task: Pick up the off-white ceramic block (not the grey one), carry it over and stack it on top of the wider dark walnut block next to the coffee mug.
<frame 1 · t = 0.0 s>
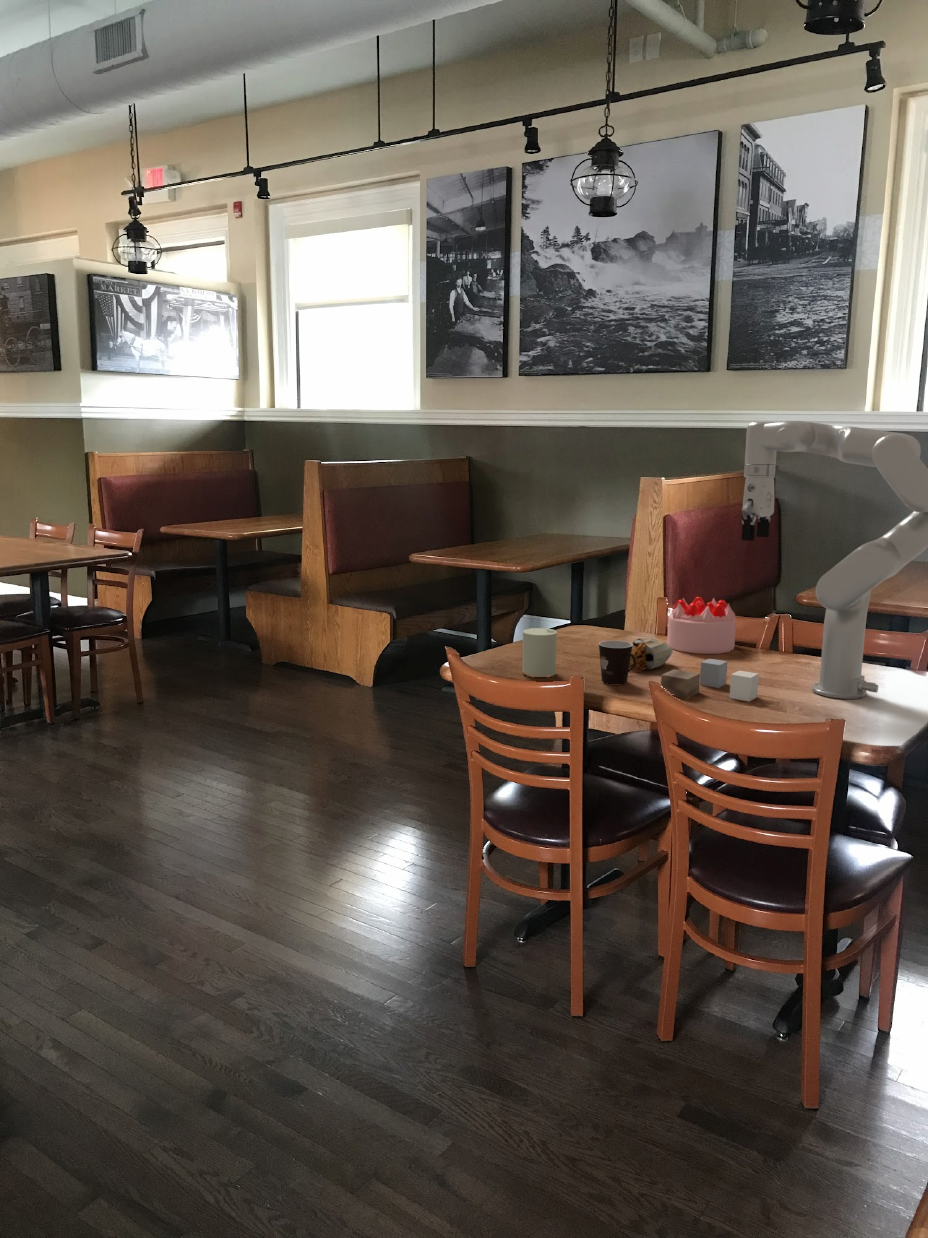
hand: (755, 538, 249), 37 cm above the table, tool pointing down, fingers open, 9 cm apart
can: (539, 674, 260), on the table
walnut block: (679, 693, 241), on the table
coffee mug: (615, 684, 250), on the table
nautilus: (639, 668, 266), on the table
ceramic block: (743, 697, 237), on the table
cake: (700, 647, 291), on the table
grey block: (713, 684, 249), on the table
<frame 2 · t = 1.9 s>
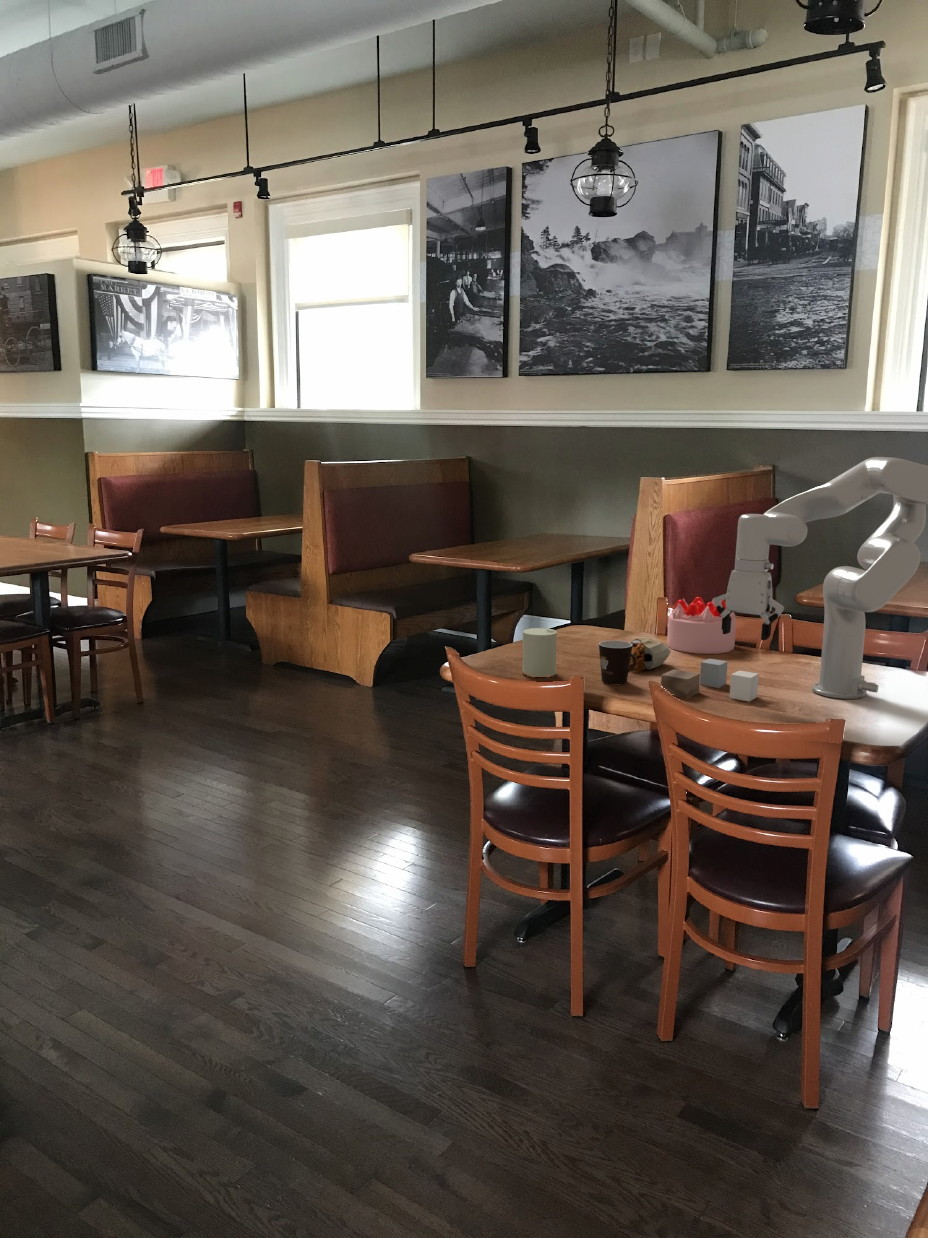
hand: (745, 636, 234), 15 cm above the table, tool pointing down, fingers open, 9 cm apart
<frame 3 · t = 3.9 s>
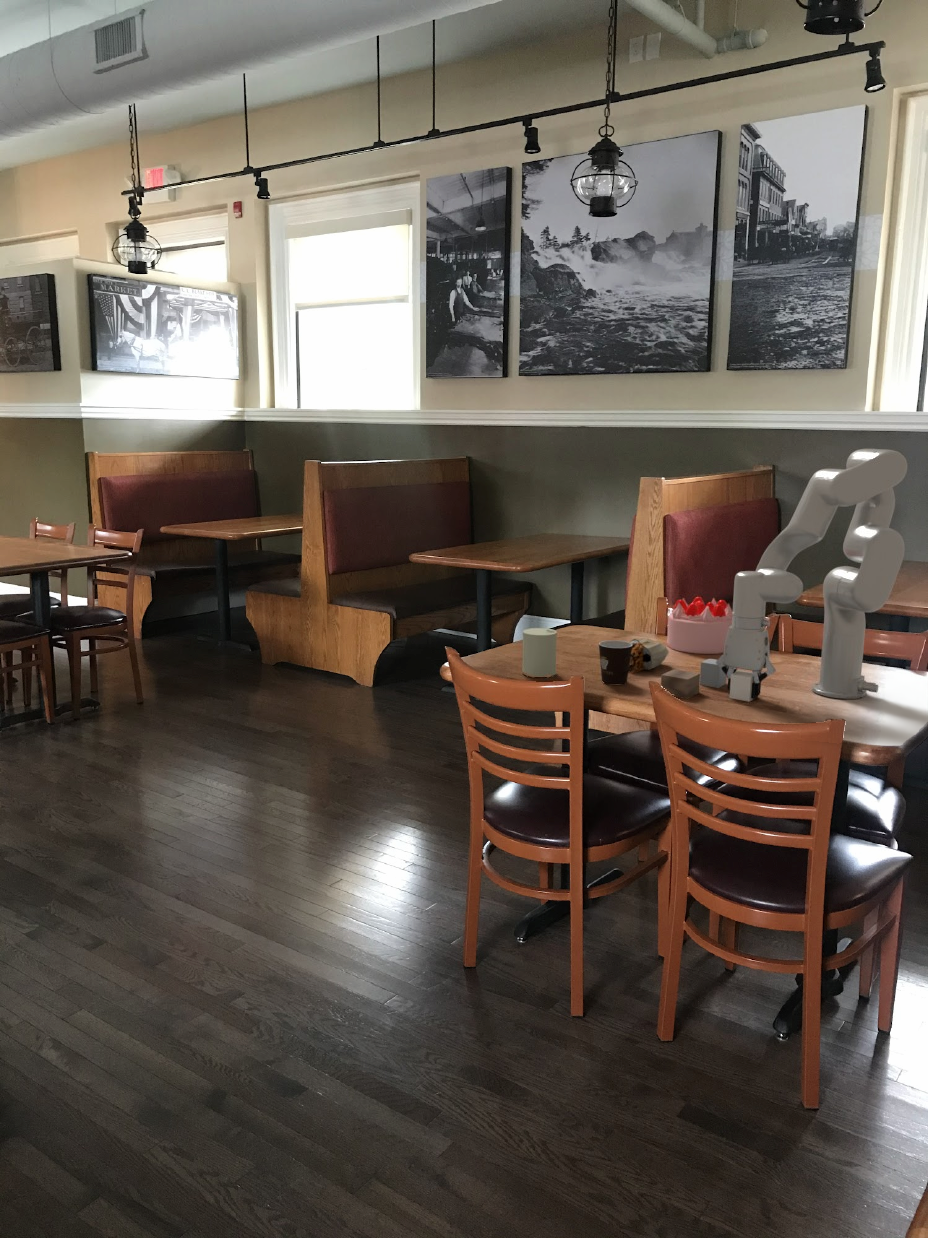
hand: (743, 694, 237), 1 cm above the table, tool pointing down, fingers closed on ceramic block, 5 cm apart
ceramic block: (743, 697, 237), on the table, touching gripper
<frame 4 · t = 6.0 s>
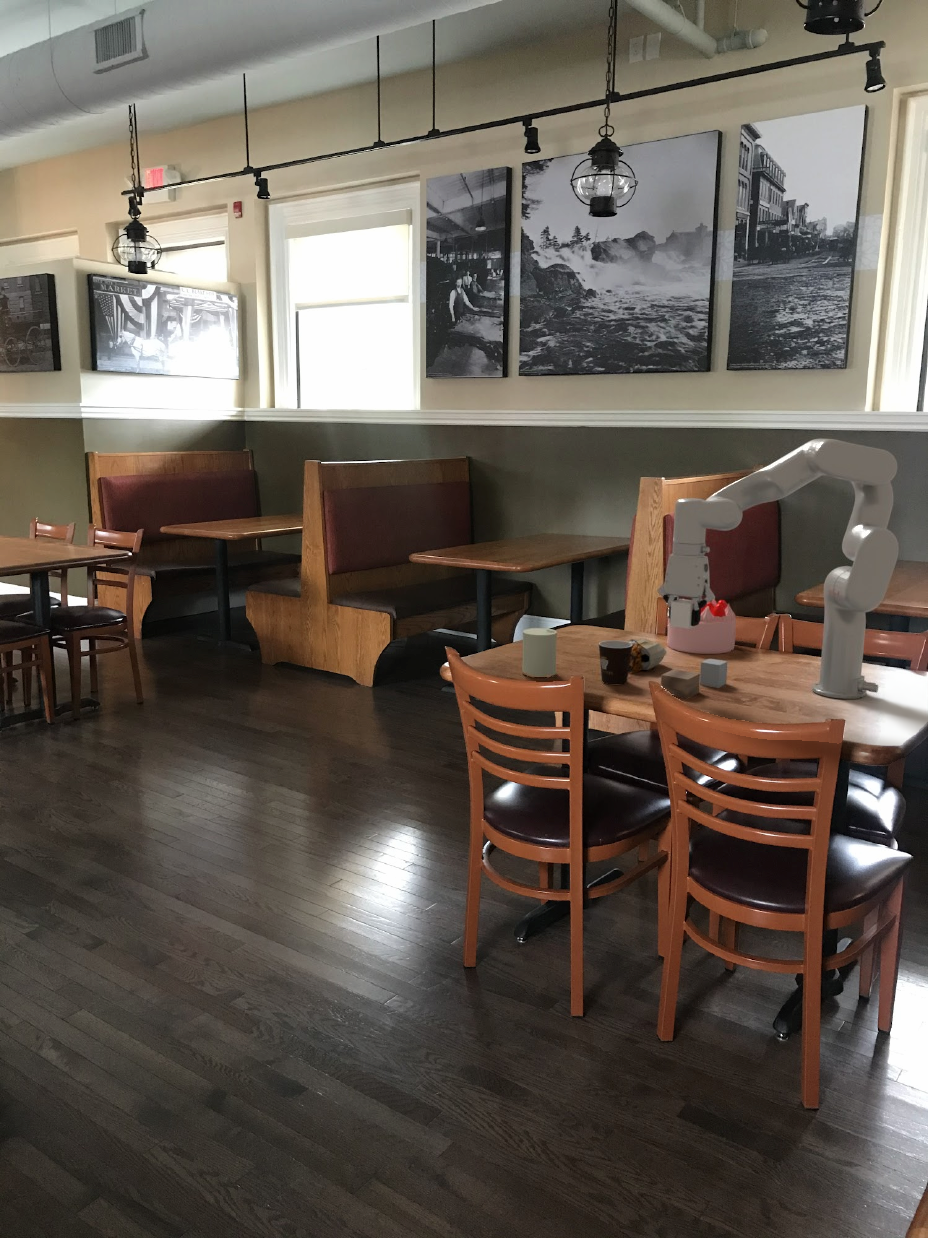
hand: (684, 622, 238), 18 cm above the table, tool pointing down, fingers closed on ceramic block, 5 cm apart
ceramic block: (683, 625, 238), point 17 cm above the table, touching gripper
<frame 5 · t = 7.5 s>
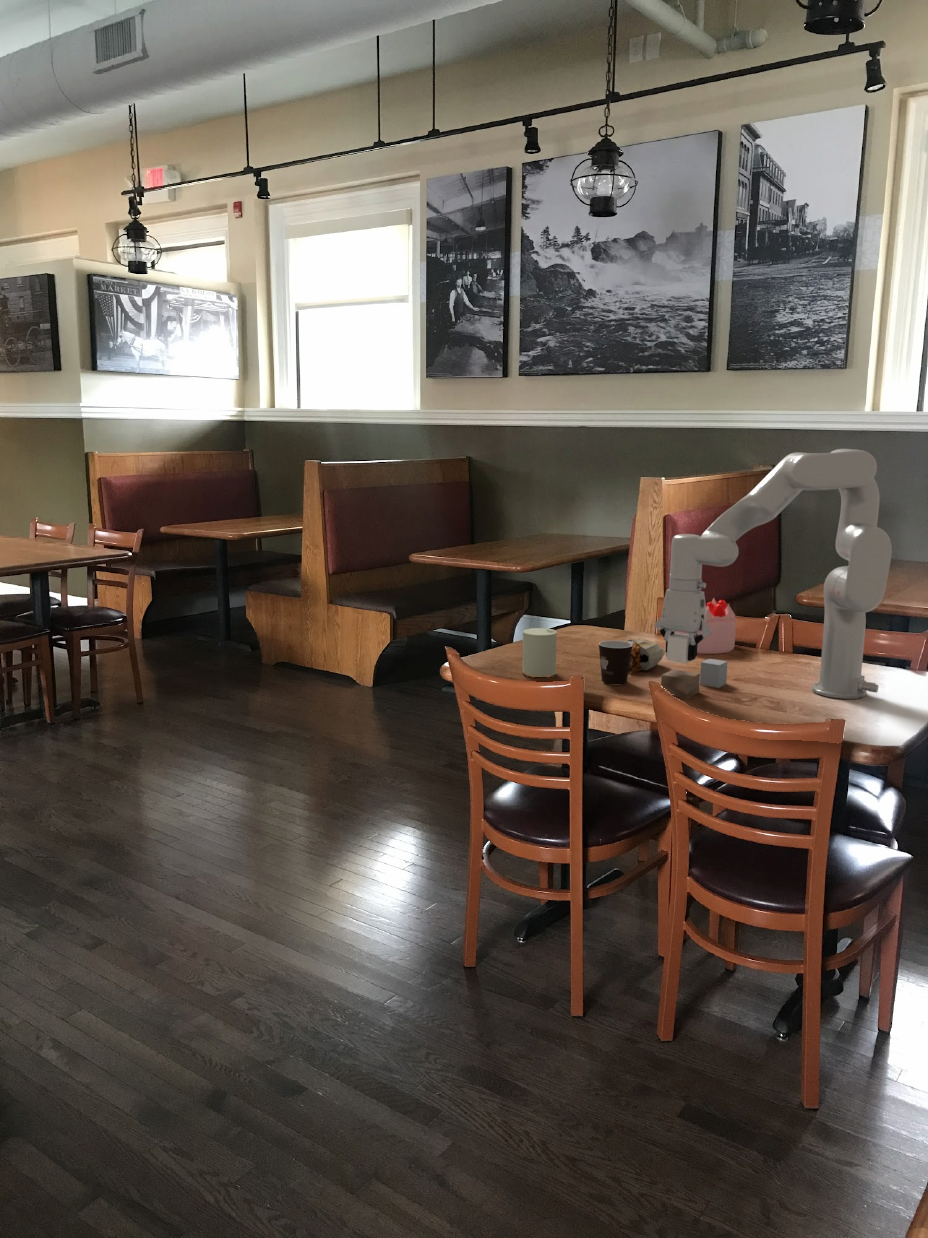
hand: (680, 657, 239), 9 cm above the table, tool pointing down, fingers closed on ceramic block, 5 cm apart
ceramic block: (680, 659, 239), point 8 cm above the table, touching gripper
when the fingers open (7 cm above the table, at t = 8.4 s): ceramic block drops 1 cm, resting on walnut block.
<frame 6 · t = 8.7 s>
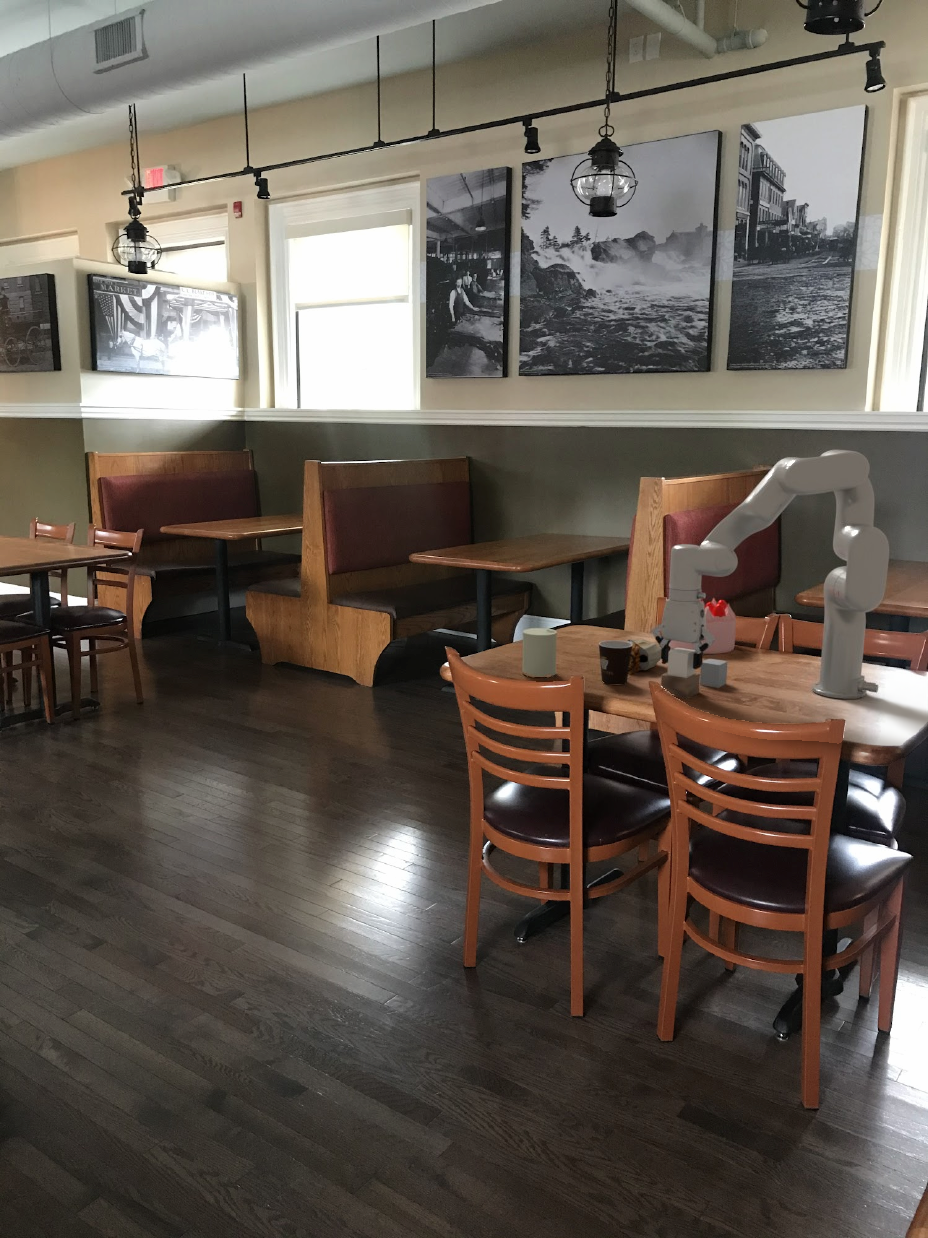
hand: (681, 665, 240), 7 cm above the table, tool pointing down, fingers open, 7 cm apart
walnut block: (679, 693, 241), on the table, touching ceramic block
ceramic block: (681, 674, 240), point 5 cm above the table, touching walnut block
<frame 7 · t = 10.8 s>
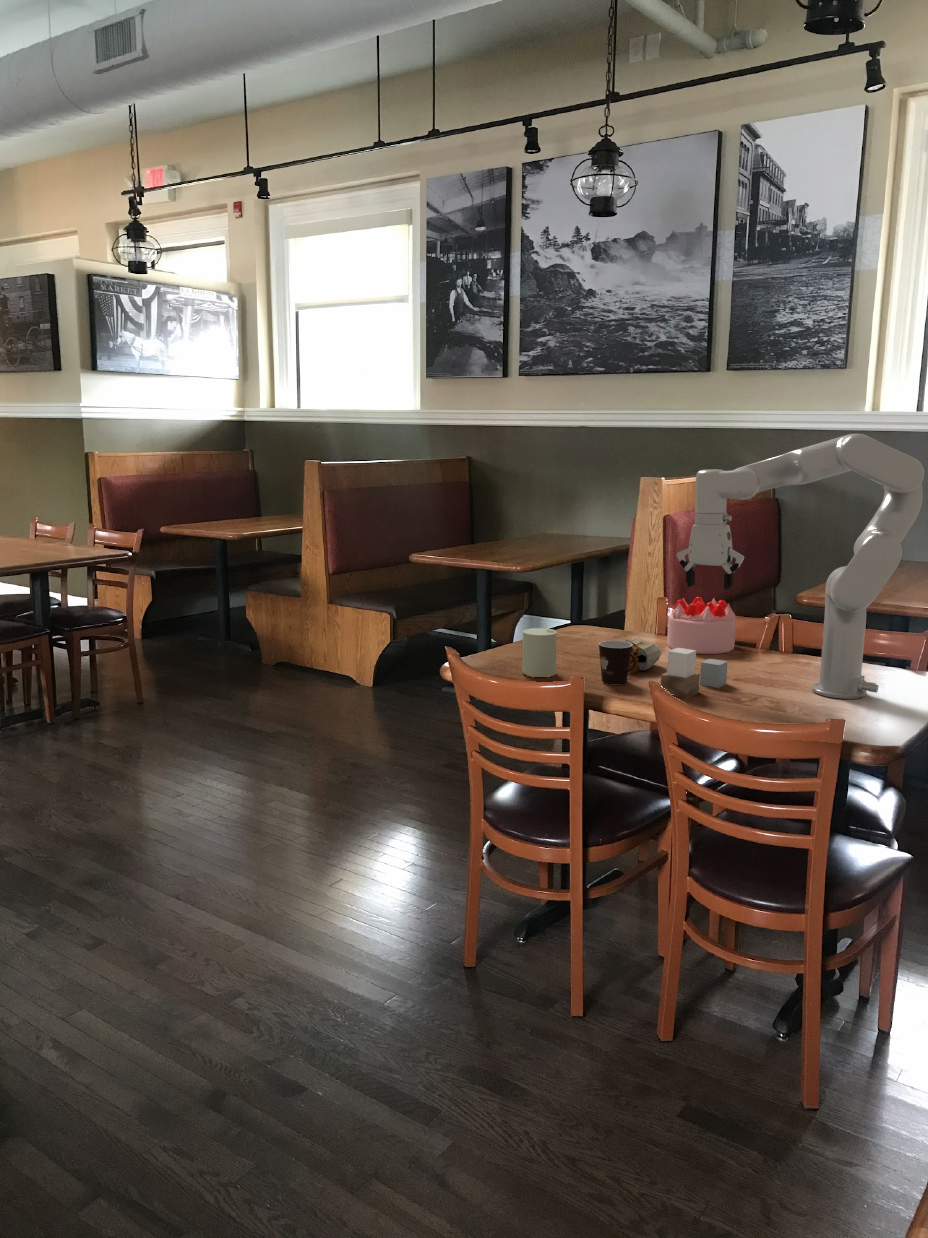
hand: (709, 587, 244), 25 cm above the table, tool pointing down, fingers open, 9 cm apart
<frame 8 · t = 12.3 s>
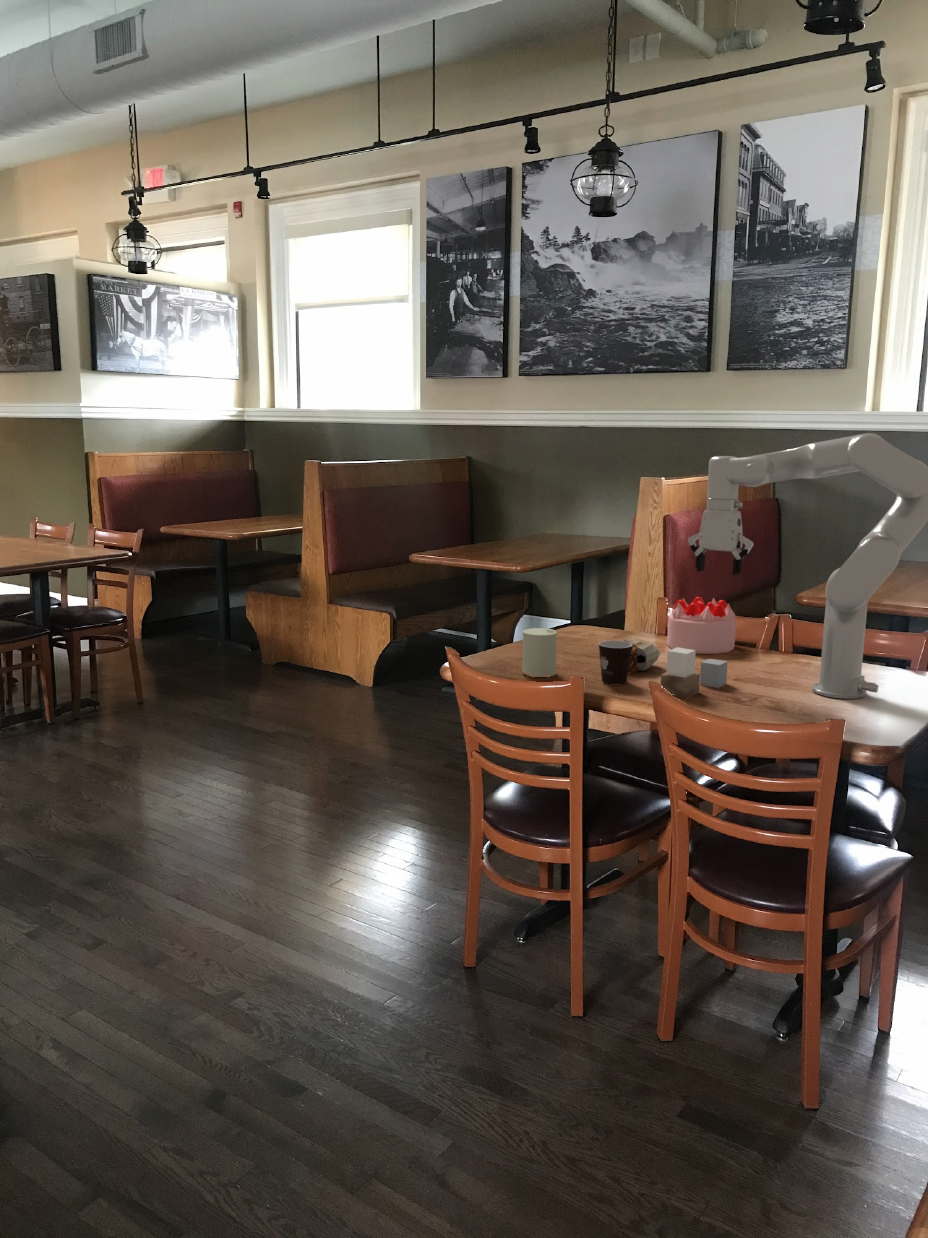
hand: (718, 572, 248), 28 cm above the table, tool pointing down, fingers open, 9 cm apart
at the end: ceramic block 0.0 cm off-centre on the walnut block, point 5.0 cm above the walnut block's base; ceramic block tilted 0°; the gripper is holding nothing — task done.
